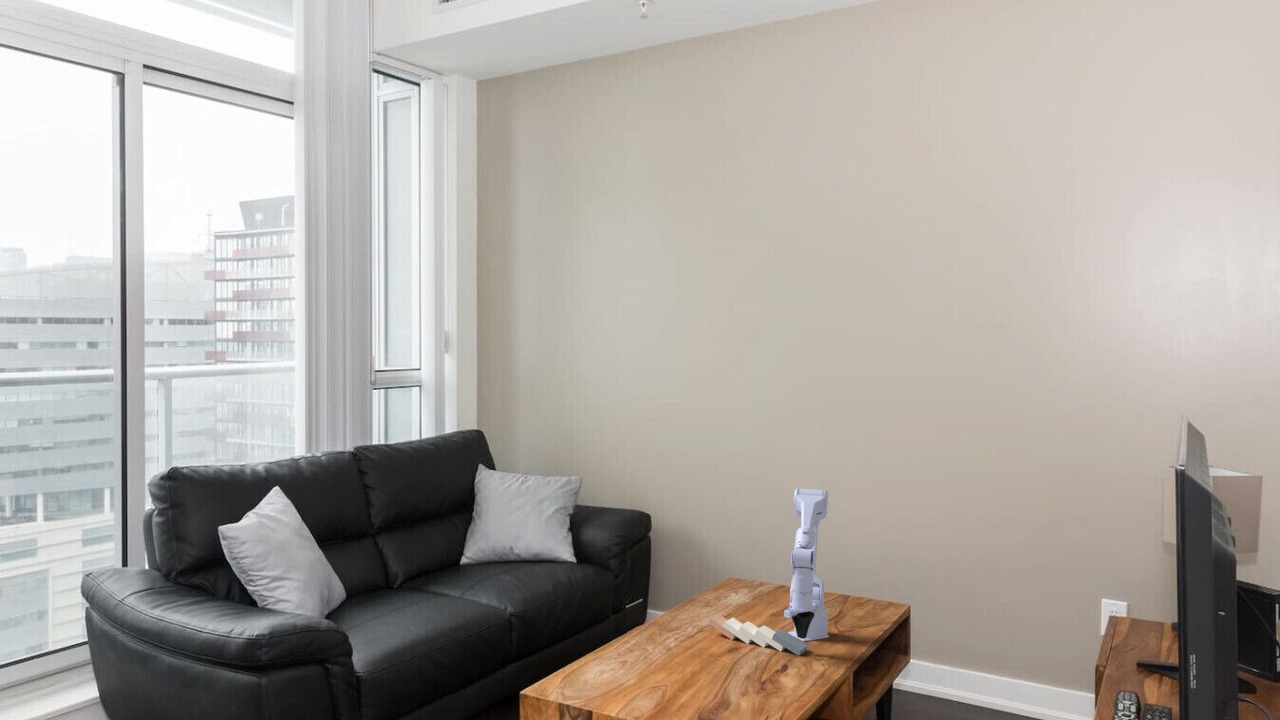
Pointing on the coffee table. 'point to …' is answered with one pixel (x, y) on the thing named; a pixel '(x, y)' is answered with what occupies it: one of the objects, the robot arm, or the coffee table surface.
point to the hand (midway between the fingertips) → (801, 637)
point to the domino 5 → (790, 642)
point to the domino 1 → (721, 625)
